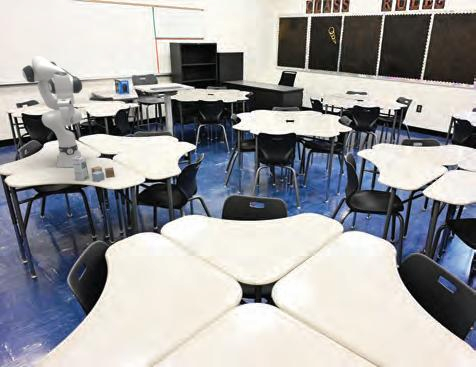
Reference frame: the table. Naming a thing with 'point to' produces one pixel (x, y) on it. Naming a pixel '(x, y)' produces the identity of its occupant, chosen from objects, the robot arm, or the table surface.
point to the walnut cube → (109, 172)
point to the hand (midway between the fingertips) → (70, 124)
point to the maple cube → (96, 169)
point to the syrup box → (80, 168)
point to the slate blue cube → (98, 176)
